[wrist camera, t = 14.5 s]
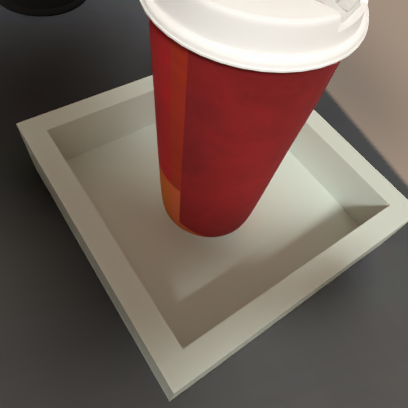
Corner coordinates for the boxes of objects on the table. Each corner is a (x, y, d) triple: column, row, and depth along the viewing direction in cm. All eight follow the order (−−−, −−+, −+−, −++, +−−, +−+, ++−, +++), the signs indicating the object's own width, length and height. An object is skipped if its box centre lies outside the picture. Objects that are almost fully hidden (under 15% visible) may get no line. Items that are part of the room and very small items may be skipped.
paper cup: (291, 192, 24) (424, -42, 12) (221, 281, 21) (316, 72, 9) (194, 128, 26) (229, -128, 14) (115, 200, 22) (73, -64, 11)
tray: (34, 167, 24) (16, 123, 21) (233, 86, 30) (243, 42, 27) (169, 401, 18) (173, 394, 15) (382, 242, 24) (419, 211, 21)
